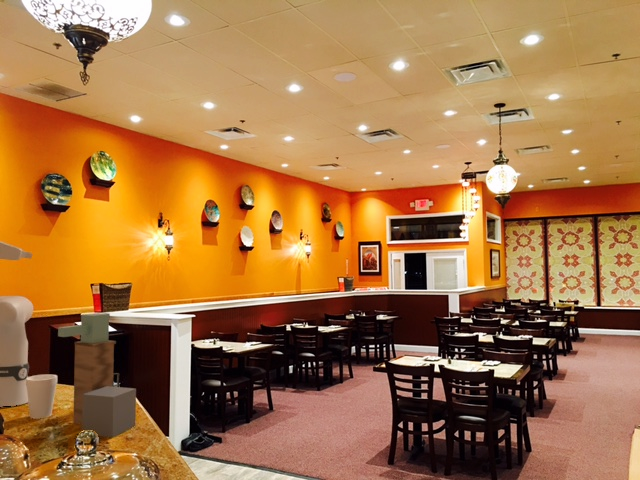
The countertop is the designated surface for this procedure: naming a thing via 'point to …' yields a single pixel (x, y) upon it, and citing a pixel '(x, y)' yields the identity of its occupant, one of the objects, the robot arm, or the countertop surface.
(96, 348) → the stand
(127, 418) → the riser
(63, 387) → the countertop surface
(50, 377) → the foam cup
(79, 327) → the green mallet
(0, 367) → the robot arm
